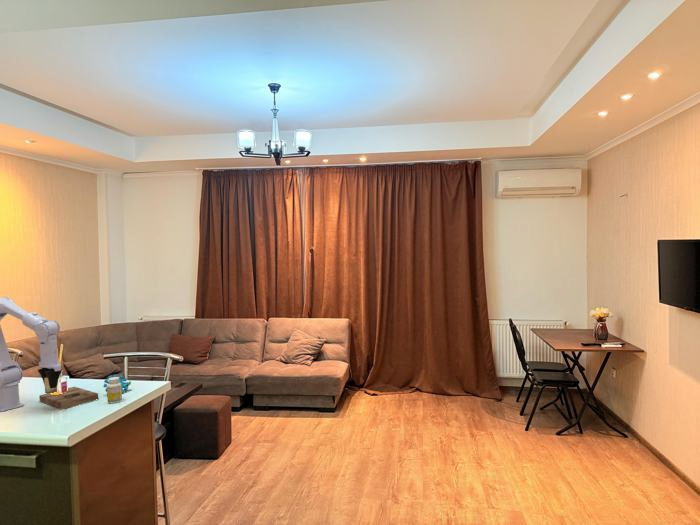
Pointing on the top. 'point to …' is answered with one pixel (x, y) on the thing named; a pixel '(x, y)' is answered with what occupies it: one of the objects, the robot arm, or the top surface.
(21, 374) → the robot arm
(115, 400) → the supplement bottle
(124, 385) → the gear
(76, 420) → the top surface
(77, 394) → the jig plate
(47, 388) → the cylinder
